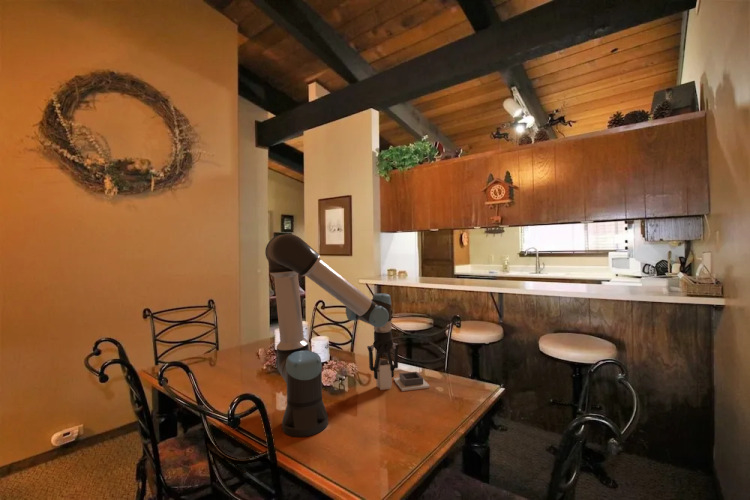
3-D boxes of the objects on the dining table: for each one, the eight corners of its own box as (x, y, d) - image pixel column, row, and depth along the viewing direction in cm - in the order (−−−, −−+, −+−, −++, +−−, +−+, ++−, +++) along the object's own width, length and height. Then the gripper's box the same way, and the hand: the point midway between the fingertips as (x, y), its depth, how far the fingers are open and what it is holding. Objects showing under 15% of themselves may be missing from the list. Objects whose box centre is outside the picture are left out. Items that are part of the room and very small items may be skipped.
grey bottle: (380, 390, 139) (379, 362, 139) (377, 385, 144) (377, 358, 144) (390, 388, 140) (390, 361, 140) (387, 384, 145) (387, 357, 145)
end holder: (402, 391, 138) (401, 382, 138) (393, 380, 149) (393, 372, 149) (429, 387, 140) (429, 379, 140) (419, 377, 152) (419, 369, 152)
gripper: (364, 334, 136) (365, 391, 137) (405, 330, 140) (406, 386, 140) (360, 330, 144) (362, 384, 144) (400, 326, 148) (401, 380, 148)
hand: (384, 385), depth 142 cm, fingers open, 4 cm apart
